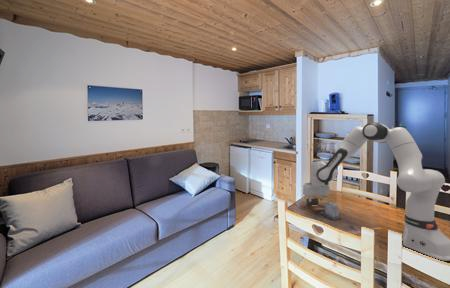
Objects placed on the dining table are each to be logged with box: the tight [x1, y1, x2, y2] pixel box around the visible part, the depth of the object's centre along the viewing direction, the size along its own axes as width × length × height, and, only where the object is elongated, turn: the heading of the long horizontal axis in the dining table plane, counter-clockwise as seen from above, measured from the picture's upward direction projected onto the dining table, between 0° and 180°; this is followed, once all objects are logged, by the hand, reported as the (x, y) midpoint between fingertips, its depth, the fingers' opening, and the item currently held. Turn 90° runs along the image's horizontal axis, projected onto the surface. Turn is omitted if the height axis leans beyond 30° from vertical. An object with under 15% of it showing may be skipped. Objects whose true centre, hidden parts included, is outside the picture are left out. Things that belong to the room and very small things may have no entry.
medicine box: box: [324, 201, 339, 217], centre depth 146 cm, size 8×4×9 cm, turn 13°
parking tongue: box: [319, 211, 342, 221], centre depth 146 cm, size 12×7×2 cm, turn 13°
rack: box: [305, 197, 325, 213], centre depth 160 cm, size 12×9×6 cm
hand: (316, 201), depth 160 cm, fingers open, 8 cm apart
